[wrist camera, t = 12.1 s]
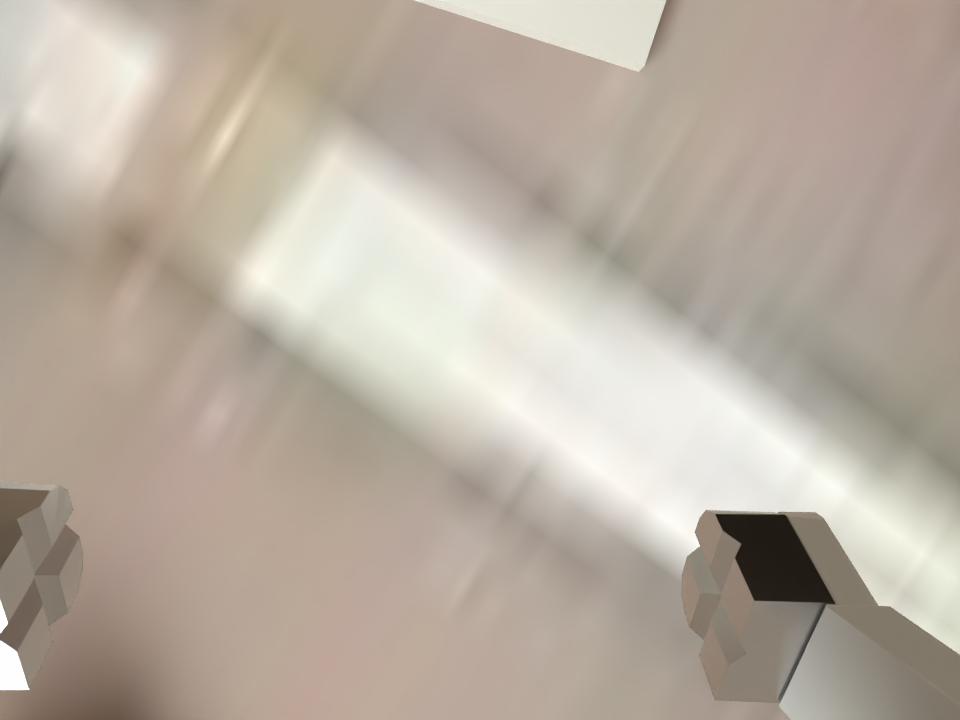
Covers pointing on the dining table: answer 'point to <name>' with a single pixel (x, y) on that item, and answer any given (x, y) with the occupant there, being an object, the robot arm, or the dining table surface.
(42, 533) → the robot arm
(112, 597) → the dining table surface
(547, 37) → the housing
